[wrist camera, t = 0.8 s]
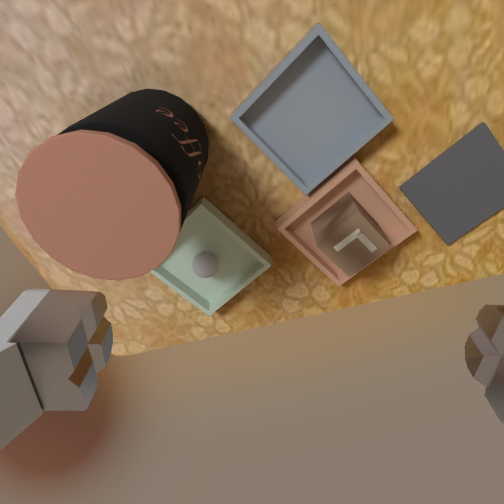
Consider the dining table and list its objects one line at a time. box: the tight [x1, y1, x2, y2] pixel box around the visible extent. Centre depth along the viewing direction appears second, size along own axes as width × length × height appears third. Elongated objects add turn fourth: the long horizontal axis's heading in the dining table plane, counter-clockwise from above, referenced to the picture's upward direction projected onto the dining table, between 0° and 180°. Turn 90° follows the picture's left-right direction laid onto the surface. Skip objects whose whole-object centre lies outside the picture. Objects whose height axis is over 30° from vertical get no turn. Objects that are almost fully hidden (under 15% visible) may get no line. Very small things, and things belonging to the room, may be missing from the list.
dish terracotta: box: [276, 155, 417, 287], centre depth 44 cm, size 11×11×2 cm
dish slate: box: [230, 23, 394, 195], centre depth 38 cm, size 11×11×2 cm
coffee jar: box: [15, 89, 209, 280], centre depth 33 cm, size 11×11×18 cm
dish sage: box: [150, 196, 272, 316], centre depth 47 cm, size 11×11×2 cm
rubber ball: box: [192, 251, 219, 278], centre depth 46 cm, size 3×3×3 cm
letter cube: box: [311, 192, 391, 277], centre depth 42 cm, size 6×6×6 cm
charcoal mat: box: [399, 122, 504, 245], centre depth 42 cm, size 10×10×1 cm
